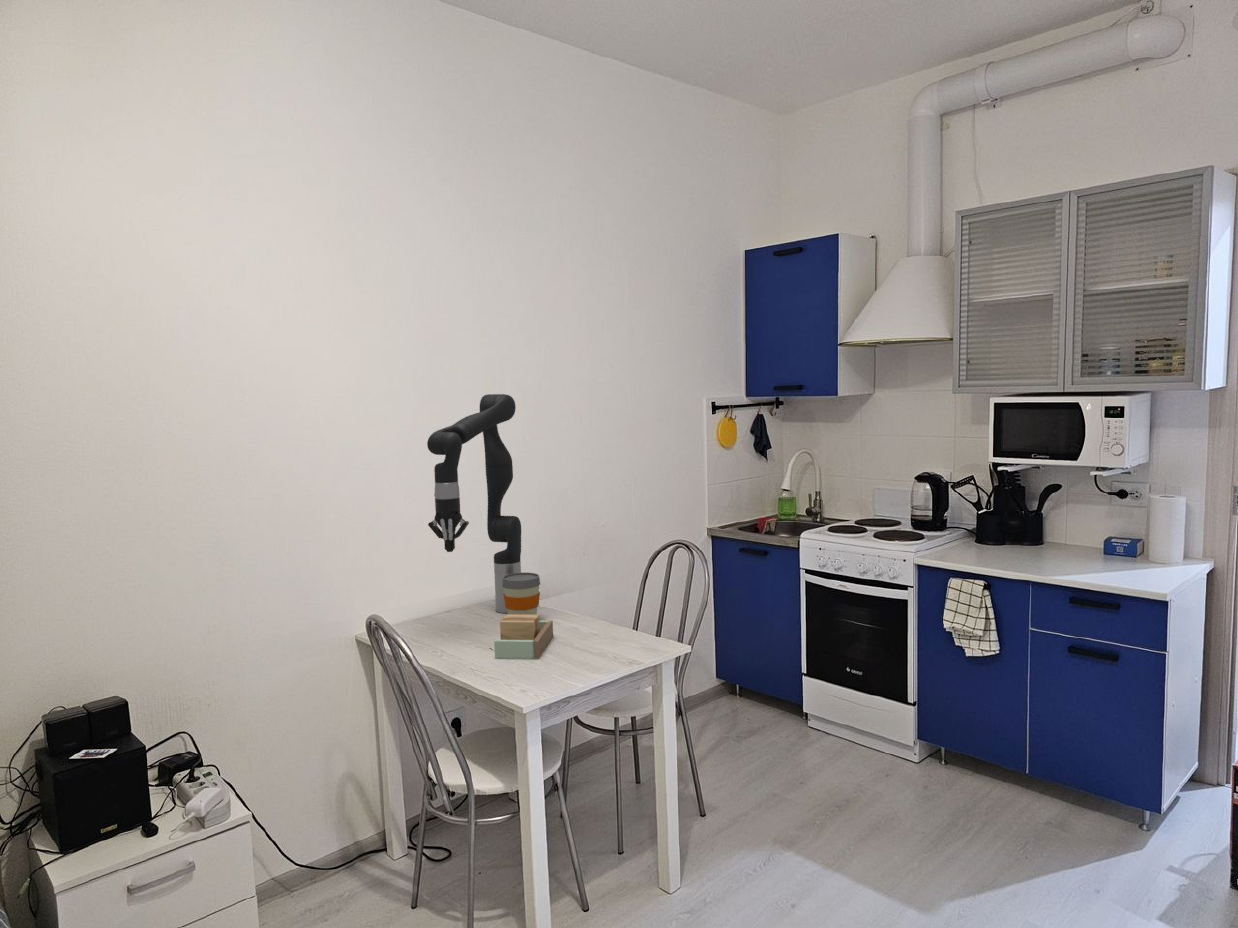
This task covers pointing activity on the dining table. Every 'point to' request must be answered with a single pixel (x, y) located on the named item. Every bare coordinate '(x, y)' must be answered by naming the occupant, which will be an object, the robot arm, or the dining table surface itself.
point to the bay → (525, 644)
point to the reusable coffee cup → (521, 593)
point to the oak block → (519, 627)
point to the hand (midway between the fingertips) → (449, 551)
